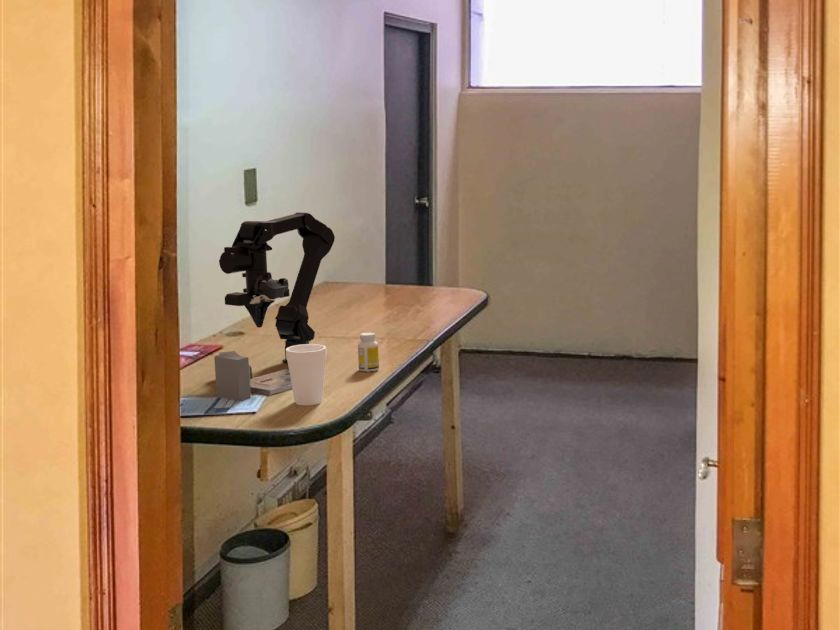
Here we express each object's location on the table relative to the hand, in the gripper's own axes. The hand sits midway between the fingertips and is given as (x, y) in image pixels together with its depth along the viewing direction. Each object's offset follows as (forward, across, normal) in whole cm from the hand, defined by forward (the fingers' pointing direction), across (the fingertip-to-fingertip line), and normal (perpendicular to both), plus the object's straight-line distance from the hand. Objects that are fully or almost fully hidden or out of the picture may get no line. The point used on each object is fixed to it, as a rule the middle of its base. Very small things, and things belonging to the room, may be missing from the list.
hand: (259, 327), depth 277 cm
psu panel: (+12, -8, -14) cm, 20 cm away
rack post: (+12, -23, -14) cm, 30 cm away
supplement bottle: (+12, +16, -24) cm, 31 cm away
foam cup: (+12, -17, -33) cm, 39 cm away
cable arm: (+12, -14, -6) cm, 19 cm away
